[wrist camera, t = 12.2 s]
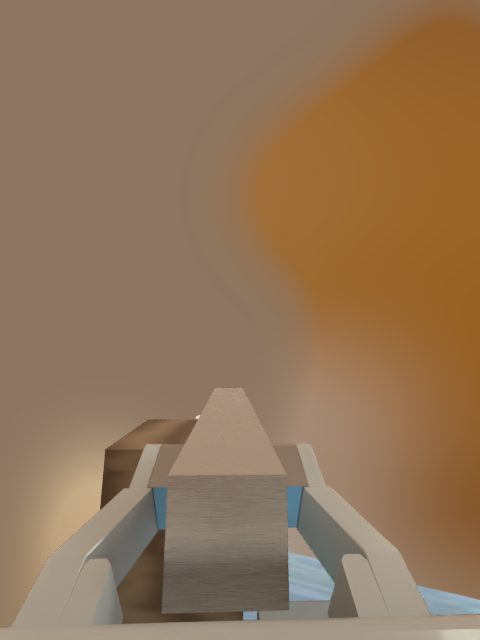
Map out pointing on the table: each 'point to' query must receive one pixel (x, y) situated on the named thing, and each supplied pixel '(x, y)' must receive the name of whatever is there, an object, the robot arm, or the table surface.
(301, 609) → the block
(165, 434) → the walnut shelf
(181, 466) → the tan bar
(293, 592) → the table surface
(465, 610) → the table surface
